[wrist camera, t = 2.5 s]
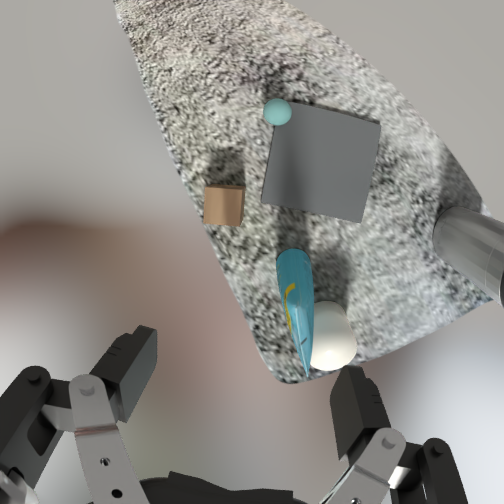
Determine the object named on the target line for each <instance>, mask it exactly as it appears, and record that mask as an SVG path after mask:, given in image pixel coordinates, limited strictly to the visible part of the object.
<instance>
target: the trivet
mask: <svg viewBox="0 0 504 504" xmlns="http://www.w3.org/2000/svg"><path fill="white" fill-rule="evenodd" d="M286 102H287V103H288V104H289V105H290V107H291V110H292V115H291V118H290V119H289V121H288V122H286V123H285V124H283V125H275V130H274V135H273V140H272V146H271V151H270V156H269V162H268V167H267V172H266V178H265V183H264V188H263V194H262V199H261V202H262V203H267V204H272V205H278V206H283V207H288V208H293V209H297V210H302V211H307V212H312V213H316V214H321V215H326V216H330V217H335V218H339V219H344V220H348V221H352V222H356V223H361V221H362V217H363V213H364V209H365V205H366V201H367V196H368V192H369V188H370V183H371V179H372V174H373V169H374V164H375V159H376V154H377V149H378V143H379V138H380V132H381V125H378V124H375V123H372V122H369V121H366V120H362V119H359V118H355V117H352V116H348V115H345V114H341V113H337V112H333V111H329V110H325V109H321V108H317V107H313V106H308V105H304V104H299V103H294V102H289V101H286Z"/></svg>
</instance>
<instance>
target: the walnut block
mask: <svg viewBox="0 0 504 504" xmlns="http://www.w3.org/2000/svg"><path fill="white" fill-rule="evenodd" d="M245 189H246V186H233V185H220V184H212V185H209V186H207V187H205V201H204V223H205V224H217V225H228V226H239V227H240V225H241V223H242V221H243V215H244V202H245Z"/></svg>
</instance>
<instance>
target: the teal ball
mask: <svg viewBox="0 0 504 504" xmlns="http://www.w3.org/2000/svg"><path fill="white" fill-rule="evenodd" d="M263 114H264V117H265V119H266V120H267V121H268V122H269V123H271V124H273V125H283V124H285V123H286V122H288V121H289V119H290V118H291V115H292V110H291V107H290V105H289V104H288V103H287V102H286V101H285V100H283V99H278V98H276V99H272V100H270V101H268V102H267V103H266V104H265V106H264V110H263Z"/></svg>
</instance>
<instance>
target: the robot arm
mask: <svg viewBox="0 0 504 504" xmlns="http://www.w3.org/2000/svg"><path fill="white" fill-rule="evenodd" d="M433 245H434V249H435V252H436V253H437V255H438V256H439V257H440V258H441V259H442V260H443V261H444V262H446V263H447V264H448V265H450V266H451V267H452V268H454V269H455V270H456V271H458V272H459V273H460V274H462V275H463V276H464V277H466V278H467V279H468V280H470V281H471V282H472V283H473V284H475V285H476V286H477V287H479V288H480V289H481V290H482V291H484V292H485V293H486V294H487V295H489V296H490V297H491V298H492V299H494V300H495V301H496V302H497V303H498V304H500V305H501V306H502V307H503V308H504V223H503V222H500V221H498V220H495V219H493V218H490V217H488V216H485V215H482V214H480V213H477V212H475V211H472V210H469V209H466V208H463V207H459V206H455V207H451V208H449V209H447V210H446V211H445V212H444V213H443V214H442V215H441V216H440V217H439V219H438V221H437V223H436V225H435V228H434V233H433ZM156 362H157V330H156V329H153V328H149V327H145V326H142V325H139V326H138V327H137V329H136V330H135V331H134V333H133V334H128V333H125V334H123V335H121V336H120V337H118V338H116V340H115V341H114V342H113V343H112V345H111V347H109V349H108V350H107V351H106V353H105V354H104V355H103V356H102V358H101V359H100V360H99V362H98V363H97V364H96V365H95V367H94V368H93V369H92V370H91V372H90V373H89V374H83V375H79V376H77V377H75V378H73V379H72V381H63V380H57V379H51V377H50V374H49V372H48V371H47V370H46V369H45V368H43V367H40V366H30V367H27V368H25V369H24V370H22V371H21V373H20V374H19V375H18V376H17V377H16V379H15V380H14V381H13V382H12V383H11V385H10V386H9V387H8V388H7V389H6V391H5V392H4V393H3V394H2V396H1V397H0V504H39V499H38V496H37V494H36V493H35V491H34V488H35V485H36V484H37V482H38V480H39V478H40V475H41V473H42V471H43V470H44V468H45V466H46V464H47V462H48V460H49V458H50V456H51V454H52V453H53V451H54V449H55V447H56V445H57V443H58V441H59V440H60V438H61V436H62V434H63V432H64V431H68V432H74V434H75V440H76V444H77V448H78V452H79V456H80V460H81V464H82V468H83V471H84V475H85V478H86V481H87V485H88V488H89V491H90V494H91V497H92V500H93V502H91V503H88V504H307V503H305V502H303V501H301V500H298V499H295V498H293V491H289V490H274V489H253V490H239V491H230V490H227V489H224V488H222V487H219V486H217V485H214V484H212V483H210V482H207V481H205V480H203V479H200V478H196V477H192V476H188V475H183V474H180V473H176V472H172V471H170V473H169V476H168V478H166V477H156V478H148V479H144V480H140V481H139V480H138V478H137V476H136V473H135V471H134V469H133V466H132V464H131V461H130V459H129V456H128V454H127V452H126V448H125V446H124V443H123V440H122V438H121V435H120V432H119V429H118V427H117V425H116V423H117V421H118V420H120V421H122V422H125V423H127V421H128V419H129V417H130V415H131V413H132V411H133V409H134V408H135V406H136V404H137V402H138V400H139V398H140V396H141V394H142V392H143V390H144V388H145V386H146V384H147V382H148V380H149V379H150V377H151V375H152V373H153V371H154V369H155V366H156ZM330 406H331V411H332V418H333V424H334V430H335V437H336V443H337V450H338V457H339V461H349V467H348V468H347V469H346V470H345V472H344V473H343V475H342V476H341V477H340V478H339V480H338V481H337V482H336V484H335V485H334V486H333V487H332V489H331V490H330V491H329V492H328V493H327V495H326V496H325V497H324V498H323V499H322V500H321V501H320V502H319V504H381V502H382V500H383V499H384V497H385V495H386V493H387V491H388V489H389V488H390V493H391V500H392V504H468V501H467V498H466V494H465V491H464V488H463V484H462V482H461V478H460V475H459V472H458V469H457V466H456V463H455V461H454V458H453V455H452V452H451V449H450V447H449V445H448V444H447V443H445V441H443V440H441V439H439V438H430V439H428V440H427V441H426V442H425V443H424V444H423V445H419V444H414V443H409V442H406V440H405V438H404V436H403V435H402V434H401V433H400V432H399V431H397V430H395V429H392V428H391V425H390V422H389V419H388V416H387V413H386V410H385V407H384V405H383V404H382V399H381V397H380V393H379V390H378V388H377V386H376V385H375V384H374V382H373V381H372V380H371V379H370V378H366V377H365V374H364V371H363V369H362V367H360V366H350V365H344V366H343V368H342V369H341V372H340V374H339V376H338V378H337V380H336V382H335V384H334V386H333V389H332V391H331V395H330ZM422 484H424V489H425V493H426V498H427V499H426V498H425V494H424V489H423V485H422Z"/></svg>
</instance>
